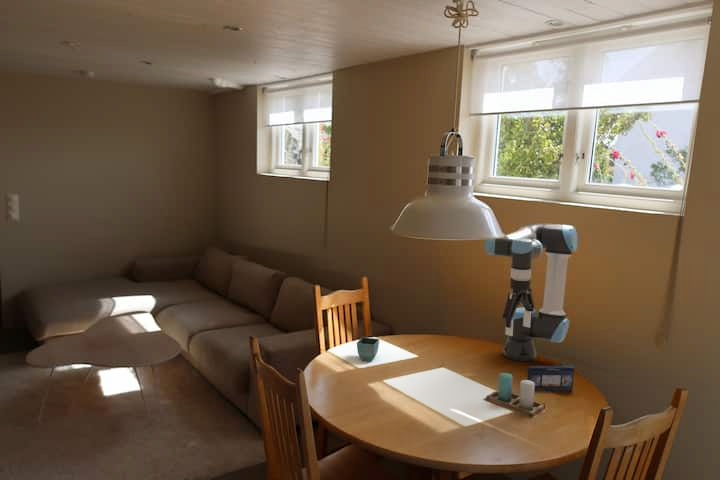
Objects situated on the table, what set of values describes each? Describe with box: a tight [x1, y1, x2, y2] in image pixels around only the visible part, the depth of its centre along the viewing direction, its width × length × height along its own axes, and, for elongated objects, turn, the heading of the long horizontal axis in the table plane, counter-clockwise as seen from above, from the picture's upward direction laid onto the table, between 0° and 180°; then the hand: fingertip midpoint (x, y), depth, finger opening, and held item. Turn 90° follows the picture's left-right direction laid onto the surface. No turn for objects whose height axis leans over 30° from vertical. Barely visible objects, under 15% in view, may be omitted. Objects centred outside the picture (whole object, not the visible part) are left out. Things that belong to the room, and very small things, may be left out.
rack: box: [482, 389, 550, 420], centre depth 197 cm, size 12×21×2 cm, turn 44°
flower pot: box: [356, 336, 380, 362], centre depth 242 cm, size 9×9×9 cm
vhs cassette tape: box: [526, 365, 575, 392], centre depth 211 cm, size 18×3×10 cm, turn 89°
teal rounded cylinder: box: [497, 372, 513, 403], centre depth 199 cm, size 5×5×10 cm
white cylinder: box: [519, 379, 535, 411], centre depth 193 cm, size 5×5×10 cm
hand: (518, 330), depth 204 cm, fingers open, 13 cm apart
